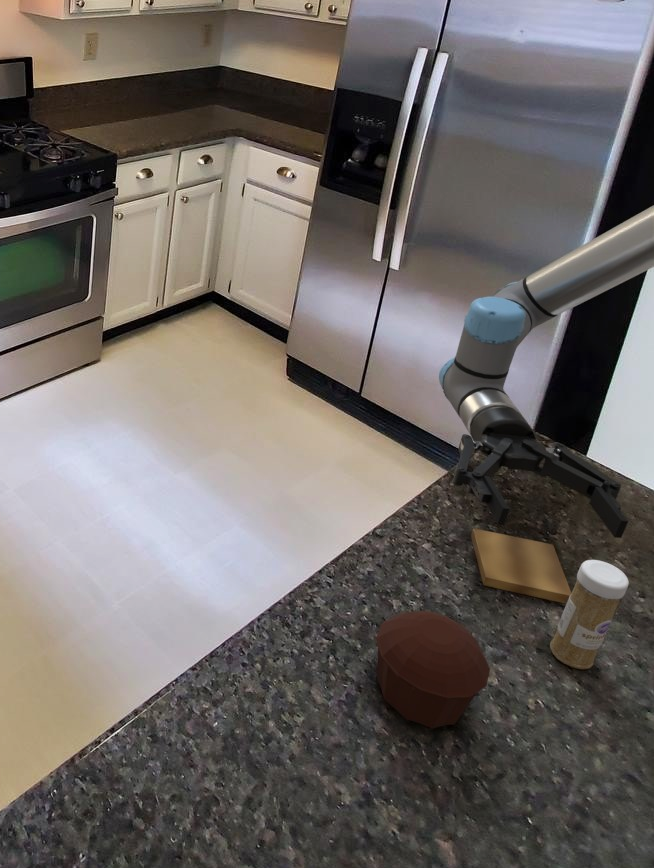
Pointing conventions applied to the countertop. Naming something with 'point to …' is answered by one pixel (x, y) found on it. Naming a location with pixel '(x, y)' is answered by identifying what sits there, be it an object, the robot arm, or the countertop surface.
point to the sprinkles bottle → (588, 613)
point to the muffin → (429, 667)
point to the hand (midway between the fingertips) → (562, 523)
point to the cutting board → (520, 566)
